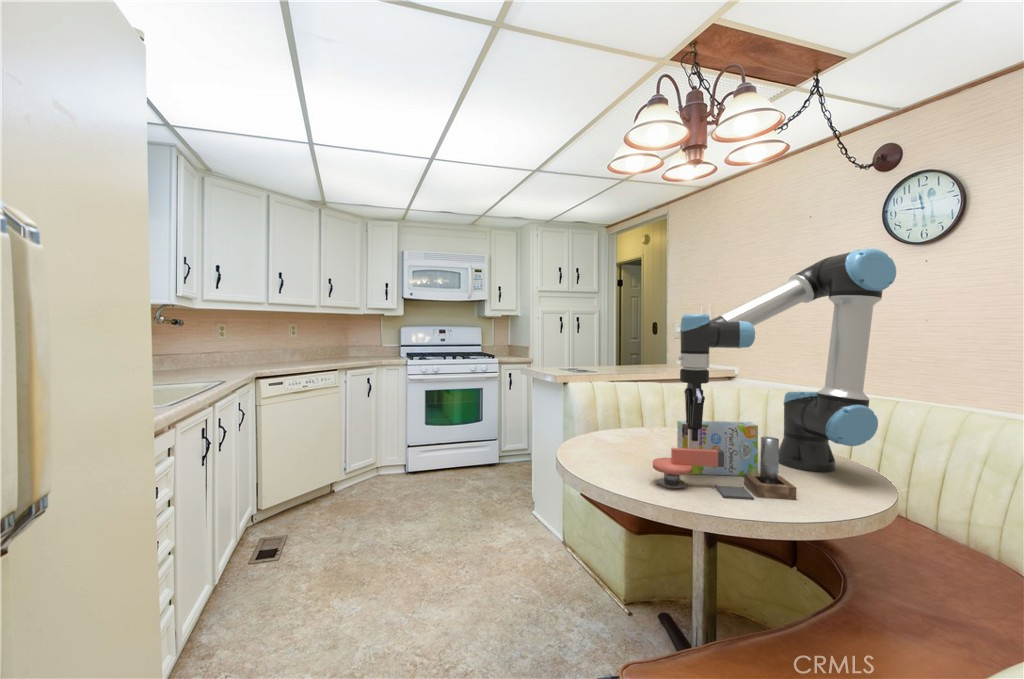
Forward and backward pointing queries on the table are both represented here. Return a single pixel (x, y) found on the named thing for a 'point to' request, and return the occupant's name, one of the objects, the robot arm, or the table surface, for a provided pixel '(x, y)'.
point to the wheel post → (671, 481)
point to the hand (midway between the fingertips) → (693, 451)
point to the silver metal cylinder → (769, 460)
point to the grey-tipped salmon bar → (688, 460)
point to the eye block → (770, 487)
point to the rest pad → (734, 492)
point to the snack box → (725, 446)
